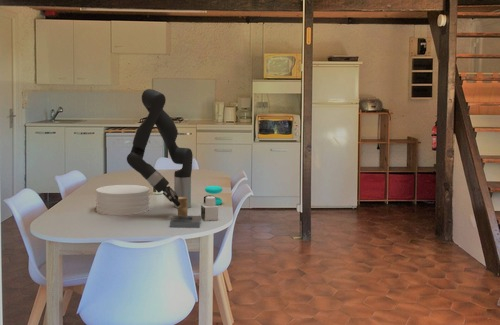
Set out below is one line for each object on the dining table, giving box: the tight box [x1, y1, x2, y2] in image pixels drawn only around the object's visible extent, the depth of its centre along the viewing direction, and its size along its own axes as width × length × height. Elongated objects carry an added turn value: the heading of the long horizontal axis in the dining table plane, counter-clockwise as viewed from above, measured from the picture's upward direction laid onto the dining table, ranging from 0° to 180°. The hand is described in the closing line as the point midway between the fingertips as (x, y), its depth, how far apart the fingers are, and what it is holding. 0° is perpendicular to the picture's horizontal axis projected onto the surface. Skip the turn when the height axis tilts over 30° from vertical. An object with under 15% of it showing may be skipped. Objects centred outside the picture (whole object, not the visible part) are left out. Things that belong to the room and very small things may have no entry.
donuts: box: [204, 185, 223, 206], centre depth 323 cm, size 10×10×10 cm
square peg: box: [177, 197, 189, 216], centre depth 288 cm, size 5×5×10 cm
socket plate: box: [169, 215, 202, 228], centre depth 273 cm, size 14×14×2 cm
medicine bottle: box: [200, 194, 219, 222], centre depth 284 cm, size 7×7×12 cm
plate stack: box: [95, 184, 150, 216], centre depth 303 cm, size 28×28×12 cm
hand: (180, 203), depth 288 cm, fingers open, 8 cm apart
